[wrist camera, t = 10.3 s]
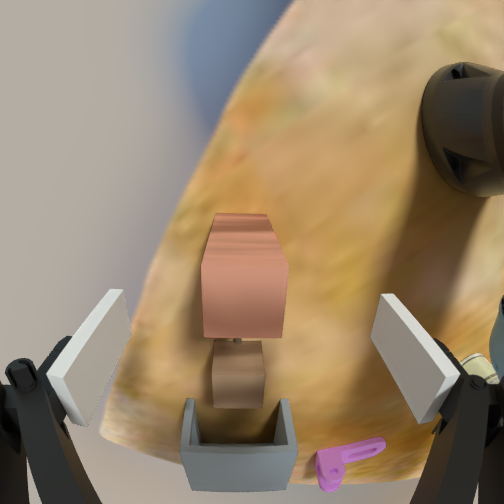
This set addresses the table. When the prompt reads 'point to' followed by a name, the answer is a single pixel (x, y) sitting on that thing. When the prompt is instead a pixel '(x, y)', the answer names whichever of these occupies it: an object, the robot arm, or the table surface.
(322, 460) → the bracket
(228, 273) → the reddish brown block
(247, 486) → the box
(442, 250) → the table surface
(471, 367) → the coffee can
